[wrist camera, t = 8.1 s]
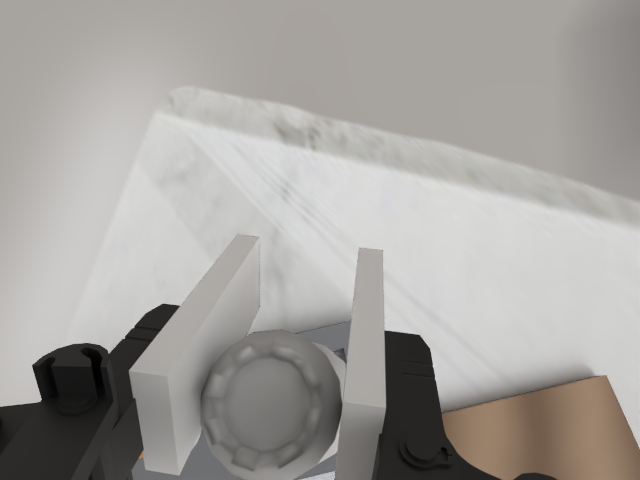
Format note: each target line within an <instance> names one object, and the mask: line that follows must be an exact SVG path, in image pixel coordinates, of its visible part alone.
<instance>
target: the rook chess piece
mask: <svg viewBox="0 0 640 480" xmlns="http://www.w3.org/2000/svg"><path fill="white" fill-rule="evenodd" d="M345 374H346V364H345V362H344V361H343V360H342V359H341V358H339V357H338V356H337V355H336V354H335V353H333V352H332V351H331V350H330V349H329V348H328V347H326V346H324V345H321V344H318V343H315V342H311V341H310V340H308V339H307V338H306V337H303V336H300V335H297V334H294V333H290V332H287V331H284V330H271V331H261V332H254V333H252V334H250V335H248V336H246V337H244V338H242V339H241V340H239V341H237V342H235V343H233V344H231V345H230V346H229V347H228V348H227V349H226V350H225V352H224V353H223V354H222V355H221V356H220V357H219V358H218V360H217V361H216V362H215V363H214V364H213V365H212V366H211V369H210V372H209V374H208V377H207V379H206V382H205V385H204V387H203V390H202V393H201V420H200V425H201V427H202V430H203V433H204V435H205V438H206V441H207V443H208V446H209V448H210V451H211V453H212V454H213V455H214V456H215V457H216V458H217V459H218V460H219V461H220V462H221V463H222V464H223V466H224V467H225V468H226V469H227V470H228V471H229V472H230V473H231V474H233V475H235V476H238V477H241V478H243V479H246V480H293V479H295V478H296V477H298V476H300V475H302V474H303V473H305V472H307V471H308V470H310V469H312V468H313V467H315V466H316V465H317V464H319V463H320V462H322V461H324V460H325V459H327V458H329V457H331V456H332V455H334V454H335V453H337V450H338V441H339V431H340V421H341V414H342V402H343V393H344V383H345Z"/></svg>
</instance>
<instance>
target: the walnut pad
mask: <svg viewBox="0 0 640 480" xmlns="http://www.w3.org/2000/svg"><path fill="white" fill-rule="evenodd" d="M441 414H442V419H443V425H444V430H445V433H446V436H447V438H448V439H449V441H450V442H451V444H452V445H453V447H454V448H455V450H456V452H457V453H458V454H459V455H460V456H461V457H462V458H463V459H464V460H466V461H467V462H468V463H470V464H471V465H473V466H474V467H476V468H478V469H480V470H482V471H484V472H486V473H488V474H490V475H493V476H495V477H497V478H499V479H502V480H513V479H515V478H516V477H518V476H519V475H521V474H523V473H533V472H536V473H540V474H544V475H548V476H552V477H554V478H556V479H558V480H640V449H639V447H638V445H637V442H636V440H635V438H634V436H633V433H632V431H631V429H630V427H629V425H628V422H627V420H626V418H625V416H624V414H623V411H622V409H621V407H620V405H619V402H618V400H617V398H616V396H615V394H614V391H613V389H612V387H611V385H610V382H609V380H608V378H607V376H606V375H604V376H595V377H591V378H587V379H582V380H578V381H574V382H570V383H566V384H562V385H557V386H553V387H549V388H545V389H541V390H536V391H532V392H528V393H524V394H520V395H516V396H511V397H507V398H503V399H499V400H495V401H490V402H486V403H482V404H478V405H474V406H470V407H465V408H461V409H457V410H453V411H449V412H444V413H441Z"/></svg>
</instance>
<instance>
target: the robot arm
mask: <svg viewBox="0 0 640 480" xmlns="http://www.w3.org/2000/svg"><path fill="white" fill-rule="evenodd" d="M259 307H260V237H257V236H248V235H239V234H237V236H236V237H235V238H234V239H233V241H232V242H231V243H230V245H229V246H228V247H227V248H226V250H225V251H224V252H223V253H222V255H221V256H220V257H219V258H218V260H217V261H216V262H215V263H214V265H213V266H212V267H211V268H210V270H209V271H208V272H207V273H206V275H205V276H204V277H203V278H202V280H201V281H200V282H199V283H198V285H197V286H196V287H195V288H194V290H193V291H192V292H191V293H190V295H189V296H188V297H187V298H186V300H185V301H184V302H183V303H182V305H181V306H177V305H170V304H162V305H160V306H158V307H156V308H155V309H153V310H151V311H149V312H148V313H146V314H145V315H144V316H143V317H142V318H141V320H140V321H139V322H138V323H137V324H136V325H135V328H134V329H133V328H132V329H131V331H130V332H129V333H128V334H127V335H126V336H125V339H122V340H121V342H120V343H119V344H118V345H117V346H116V347H115V348H114V349H113V350H112V351H111V353H110V354H108V351H107V350H106V349H105V348H103V347H101V346H100V345H96V344H90V343H83V344H72V345H69V346H66V347H62V348H59V349H56V350H54V351H52V352H51V353H48V354H47V355H45V356H43V357H42V358H40V359H39V360H38V361H37V362H36V363H35V364H33V365H32V367H33V370H34V374H35V377H36V380H37V384H38V388H39V391H40V395H41V398H42V400H41V402H38V403H31V404H22V405H13V406H4V407H0V480H133V476H132V471H131V470H132V469H133V467H134V465H135V464H136V462H137V460H138V458H139V457H140V455H141V453H143V459H144V464H145V470H149V471H155V472H161V473H167V474H173V475H180V473H181V471H182V469H183V467H184V465H185V463H186V460H187V458H188V456H189V454H190V452H191V450H192V448H193V446H194V444H195V442H196V439H197V437H198V435H199V433H200V431H201V429H202V427H201V425H200V420H201V393H202V390H203V387H204V385H205V382H206V379H207V377H208V374H209V372H210V369H211V366H212V365H213V364H214V363H215V362H216V361H217V360H218V358H219V357H220V356H221V355H222V354H223V353H224V352H225V350H226V349H227V348H228V347H229V346H230V345H231V344H233V343H235V342H237V341H239V340H241V339H242V338H244V337H246V334H247V332H248V330H249V328H250V326H251V324H252V322H253V320H254V318H255V316H256V313H257V311H258V309H259ZM334 480H502V479H499V478H497V477H495V476H493V475H490V474H488V473H486V472H484V471H482V470H480V469H478V468H476V467H474V466H473V465H471V464H470V463H468V462H467V461H466V460H464V459H463V458H462V457H461V456H460V455H459V454H458V453H457V452H456V450H455V448H454V447H453V445H452V444H451V442H450V441H449V439H448V438H447V436H446V433H445V430H444V425H443V419H442V414H441V408H440V402H439V397H438V391H437V385H436V380H435V374H434V369H433V363H432V357H431V352H430V348H429V347H428V346H427V344H426V343H425V342H424V340H423V339H422V338H421V336H420V335H415V334H408V333H400V332H392V331H384V292H383V250H376V249H367V248H359V252H358V262H357V271H356V280H355V289H354V298H353V307H352V316H351V326H350V335H349V345H348V354H347V364H346V374H345V383H344V393H343V402H342V414H341V421H340V431H339V441H338V450H337V460H336V469H335V479H334ZM513 480H558V479H556V478H554V477H552V476H548V475H544V474H540V473H536V472H533V473H523V474H521V475H519V476H518V477H516V478H515V479H513Z"/></svg>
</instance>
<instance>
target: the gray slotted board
mask: <svg viewBox="0 0 640 480" xmlns="http://www.w3.org/2000/svg"><path fill="white" fill-rule="evenodd" d="M350 326H351V321H349V322H344V323H340V324H336V325H331V326H327V327H322V328H318V329H314V330H309V331H305V332H300V333H296V334H297V335H300V336H303V337H306V338H307V339H308V340H310V341H311V342H315V343H318V344H321V345H324V346H326V347H328V348H329V349H330V350H331V351H332V352H335V351H339V350H344V353H345V358H346V362H347V354H348V345H349V335H350ZM336 460H337V453H335V454H334V455H332V456H331V457H329V458H327V459H325V460H324V461H322V462H320V463H319V464H317V465H316V466H315V467H313V468H312V469H310V470H308V471H307V472H305V473H303V474H302V475H300V476H298V477H296V478H295V479H293V480H299V479H303V478H307V477H311V476H315V475H320V474H324V473H328V472H332V471H335V469H336ZM131 471H132V476H133V480H246V479H243V478H241V477H238V476H235V475H233V474H231V473H230V472H229V471H228V470H227V469H226V468H225V467H224V466H223V464H222V463H221V462H220V461H219V460H218V459H217V458H216V457H215V456H214V455H213V454H212V453H211V451H210V448H209V446H208V443H207V441H206V438H205V435H204V433H203V430H202V429H201V431H200V433H199V435H198V437H197V439H196V442H195V444H194V446H193V448H192V450H191V452H190V454H189V456H188V458H187V460H186V463H185V465H184V467H183V469H182V471H181V473H180V475H173V474H167V473H161V472H155V471H149V470H145V464H144V459H143V453H141V455H140V457H139V458H138V460H137V462H136V464H135V465H134V467H133V469H132V470H131Z"/></svg>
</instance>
